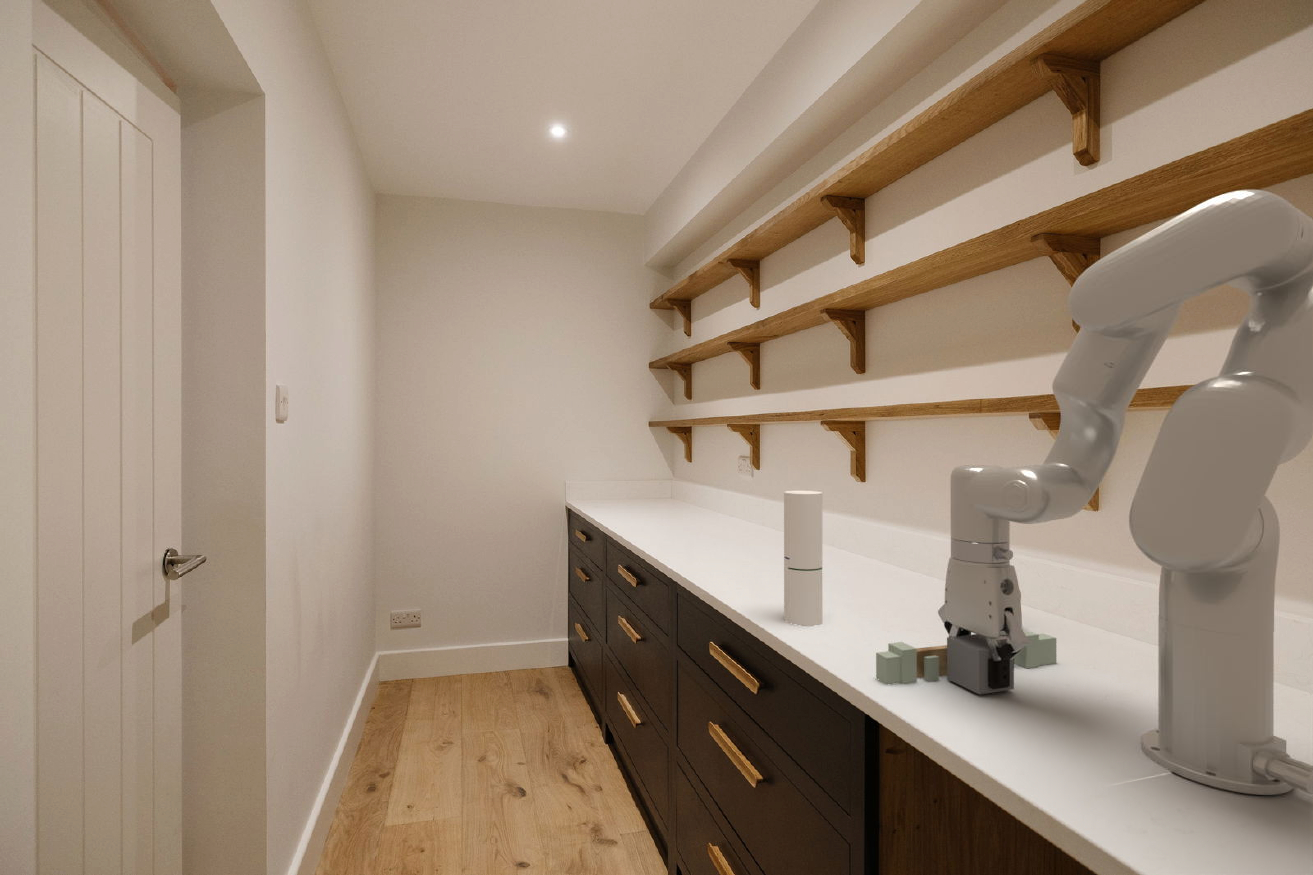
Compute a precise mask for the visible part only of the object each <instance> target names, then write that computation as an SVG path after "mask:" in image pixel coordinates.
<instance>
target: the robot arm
mask: <svg viewBox="0 0 1313 875" xmlns="http://www.w3.org/2000/svg"><path fill="white" fill-rule="evenodd" d="M1224 284H1225V285H1228V286H1231V287H1233V288H1236V289H1239V290H1242V291H1243V292H1244V293H1246V294H1247V295H1248V296H1249V308H1248V311H1247V312H1246V314H1245V316H1244V318H1243V319H1242V321H1241V322H1240V324H1239V326H1238V328H1237V329H1236V331H1235V334H1234V336H1233V339H1232V341H1231V344H1230V348H1229V350H1228V353H1227V355H1226V357H1225V360H1224V362H1223V365H1222V367H1221V369H1220V371H1219V373H1218V376H1214V377H1211V378H1208V379H1204V380H1201V381H1200V382H1198V383H1196V384H1194V385H1193V386H1191V387H1189V388H1188V389H1186V390H1185V391H1184V392H1183V393H1182V394H1181V395H1179V397H1178V398H1177V399H1175V400H1176V401H1174V403H1173V404H1172V406H1171V407H1170V409H1169V411H1168V412H1167V414H1166V416H1165V417H1164V419H1163V422H1162V424H1161V427H1160V429H1159V432H1158V434H1157V437H1156V439H1155V442H1154V445H1152V446H1153V447H1152V449H1151V452H1150V454H1149V457H1148V459H1147V462H1146V464H1145V467H1144V470H1143V472H1142V476H1141V477H1140V481H1139V483H1138V485H1137V488H1136V491H1135V493H1134V495H1133V496H1134V497H1133V499H1132V502H1131V504H1130V505H1131V506H1130V510H1129V516H1128V522H1129V523H1128V524H1129V526H1128V527H1129V531H1130V534H1131V537H1132V539H1133V542H1134V543H1135V544H1136V546H1137V548H1138V549H1139V551H1141V553H1142V554H1143V555H1144V556H1145V557H1146V558H1148V559H1149V560H1150V561H1152V562H1153V563H1155V564H1157V565H1159V566H1161V569H1160V574H1159V575H1160V576H1159V577H1160V578H1159V588H1158V615H1157V616H1158V619H1157V620H1158V622H1157V623H1158V631H1157V632H1158V635H1157V637H1158V640H1157V641H1158V643H1157V644H1158V646H1157V647H1158V648H1157V649H1158V652H1157V654H1158V657H1157V658H1158V659H1157V660H1158V661H1157V662H1158V666H1157V667H1158V668H1157V669H1158V671H1157V672H1158V675H1157V676H1158V678H1157V679H1158V685H1157V687H1158V708H1157V709H1158V710H1157V711H1158V729H1154V730H1153V729H1152V730H1149V731H1147V732H1145V733H1143V734H1142V736H1141V740H1140V741H1141V745H1140V747H1141V750H1142V752H1143V753H1144V754H1145V756H1147V757H1148V758H1149V759H1150V760H1151V761H1152V762H1154V763H1156V764H1157V765H1159V766H1161V767H1162V768H1164V769H1166V770H1168V771H1171V773H1174V774H1176V775H1178V776H1181V777H1183V778H1185V779H1187V780H1191V781H1194V782H1196V783H1199V784H1203V785H1207V786H1210V787H1211V788H1212V787H1213V788H1216V789H1220V790H1224V791H1225V790H1226V791H1230V792H1235V793H1242V794H1247V795H1248V794H1249V795H1258V796H1259V795H1261V796H1274V795H1282V794H1285V793H1288V792H1290V791H1291V790H1293V789H1294V788H1295V789H1298V790H1300V791H1302V792H1305V793H1308V794H1309V795H1313V765H1312V764H1309V763H1307V762H1304V761H1302V760H1297V759H1295V758H1292V757H1291V756H1290V754H1289V753H1287V740H1286V739H1284V738H1282V737H1281V738H1280V737H1278V736H1275V734H1274V732H1275V730H1274V725H1275V724H1274V722H1275V721H1274V720H1275V719H1274V714H1275V713H1274V709H1275V708H1274V706H1275V705H1274V700H1275V698H1274V690H1275V688H1274V687H1275V686H1274V678H1275V677H1274V676H1275V675H1274V674H1275V673H1274V669H1275V668H1274V667H1275V666H1274V657H1275V656H1274V641H1275V640H1274V637H1275V636H1274V632H1275V598H1276V597H1275V594H1276V593H1275V592H1276V590H1275V589H1276V577H1277V568H1278V559H1279V550H1280V540H1281V539H1280V537H1281V533H1280V530H1281V529H1280V522H1279V517H1278V515H1277V514H1278V513H1277V511H1276V509H1275V507H1274V505H1273V504H1272V502H1271V500H1269V498H1268V497H1267V496H1266V494H1267V491H1268V489H1269V487H1270V486H1271V485H1270V484H1271V482H1272V480H1273V478H1274V476H1275V474H1276V471H1277V470H1278V468H1279V466H1280V465H1283V464H1286V463H1287V462H1289V461H1291V460H1293V459H1294V458H1296V457H1298V456H1299V455H1300V454H1302V453H1303V452H1304V450H1305V449H1306V448H1307V446H1308V445H1309V443H1310V442H1311V439H1312V437H1313V218H1311V217H1310V216H1308V215H1307V214H1305V213H1304V212H1303V211H1302V210H1300V209H1299V208H1296V207H1295V206H1294V205H1293V204H1291V203H1290V202H1289V201H1288V200H1287V199H1285V198H1284V197H1282V196H1280V195H1278V194H1275V193H1273V192H1270V191H1266V190H1263V189H1262V190H1260V189H1241V190H1234V191H1229V192H1226V193H1223V194H1220V195H1217V196H1213V197H1211V198H1208V199H1207V200H1205V201H1203V202H1201V203H1198V204H1197V205H1195V206H1193V207H1192V208H1190V209H1188V210H1186V211H1184V212H1182V213H1180V214H1178V215H1176V216H1175V217H1173V218H1171V219H1170V220H1168V221H1166V222H1164V223H1163V224H1161V225H1159V226H1157V227H1155V228H1154V229H1152V230H1150V231H1148V232H1146V233H1144V234H1143V235H1140V236H1139V237H1136V238H1135V239H1133V240H1131V241H1130V242H1128V243H1126V244H1124V245H1123V246H1121V247H1119V248H1117V249H1116V250H1114V251H1112V252H1110V253H1108V254H1107V255H1105V256H1103V257H1102V258H1100V259H1099V260H1097V261H1096V262H1095V263H1093V264H1092V265H1090V266H1089V267H1088V268H1086V269H1085V270H1084V271H1083V272H1082V273H1081V274H1080V275H1079V276H1078V277H1077V279H1076V280H1075V282H1074V283H1073V285H1072V287H1071V289H1070V291H1069V294H1068V297H1067V298H1068V299H1067V300H1068V301H1067V308H1068V312H1069V314H1070V316H1071V318H1072V320H1073V321H1074V322H1075V323H1076V325H1077V326H1079V330H1078V333H1077V335H1076V337H1075V338H1074V340H1073V342H1072V345H1071V346H1070V348H1069V349H1068V352H1067V354H1066V355H1065V358H1064V359H1063V361H1062V363H1061V365H1060V367H1059V369H1058V371H1057V372H1056V375H1054V376H1055V377H1054V379H1053V381H1052V384H1051V385H1052V386H1051V387H1052V392H1053V395H1054V398H1055V400H1056V402H1057V405H1058V407H1059V411H1060V423H1059V430H1058V433H1057V434H1056V437H1055V440H1054V443H1053V444H1052V446H1051V449H1050V451H1049V452H1048V454H1047V456H1046V458H1045V460H1044V462H1043V463H1042V464H1039V465H1038V464H1037V465H1036V464H1035V465H1028V466H1027V465H1026V466H1015V467H1014V466H1013V467H1006V468H1004V467H1002V466H999V465H998V466H997V465H988V464H987V465H986V464H985V465H982V464H981V465H979V464H974V465H971V464H970V465H969V464H968V465H966V464H963V465H959V466H955V467H954V468H953V469H952V471H951V474H950V557H949V559H948V563H947V567H946V568H947V569H946V576H945V585H944V604H943V605H942V606H940V608H939V609H938V610H937V614H938V616H939V617H940V619H941V621H942V623H943V627H944V629H945V630H946V632H947V634H948V637H955V636H964V635H972V633H973V634H978V635H981V636H983V637H986V639H987V642H988V646H989V649H990V653H991V656H992V659H988V686H989V688H991V689H1000V688H1007V687H1009V686H1010V659H1013V658H1014V656H1015V655H1016V654H1017V653H1018V652H1019V651H1020V649H1022V648H1023V647H1025V646H1026V645H1027V644H1028V643H1029V640H1028V638H1027V636H1026V635H1025V633H1024V632H1023V630H1022V629H1023V617H1022V616H1023V615H1022V614H1023V613H1022V601H1021V600H1022V599H1021V600H1020V592H1021V590H1020V587H1019V586H1020V585H1019V581H1018V580H1019V579H1018V575H1017V571H1016V568H1015V566H1014V565H1013V564H1011V560H1012V559H1013V557H1014V552H1013V551H1012V550H1011V549H1010V548H1011V547H1010V546H1011V545H1010V540H1011V539H1010V537H1011V536H1010V532H1011V530H1010V523H1011V522H1012V523H1018V524H1026V525H1032V524H1035V525H1036V524H1041V523H1047V522H1051V521H1057V520H1064V519H1067V518H1071V517H1073V516H1075V515H1077V514H1078V513H1080V512H1081V511H1083V509H1084V508H1085V507H1086V506H1088V503H1089V502H1090V501H1091V499H1092V498H1093V497H1094V495H1095V493H1096V491H1097V490H1098V488H1099V487H1100V485H1101V483H1102V481H1103V479H1104V478H1105V476H1106V474H1107V472H1108V470H1109V469H1110V467H1111V465H1112V463H1113V461H1114V458H1115V456H1116V454H1117V451H1118V448H1119V444H1120V440H1121V436H1122V433H1123V429H1124V425H1125V422H1126V414H1127V410H1128V409H1129V406H1130V404H1131V402H1132V400H1133V399H1134V396H1135V395H1136V394H1137V391H1138V390H1139V388H1140V386H1141V384H1142V383H1143V380H1144V378H1145V377H1146V375H1147V374H1148V372H1149V370H1150V368H1151V366H1152V364H1153V363H1154V361H1155V359H1156V358H1157V356H1158V354H1159V353H1160V351H1161V350H1162V347H1163V346H1164V344H1165V342H1166V340H1167V339H1168V337H1169V335H1170V333H1171V332H1172V330H1173V328H1174V326H1175V324H1176V322H1177V321H1178V319H1179V317H1180V314H1181V312H1182V309H1183V305H1184V302H1187V301H1188V300H1190V299H1192V298H1195V297H1198V296H1200V295H1201V294H1204V293H1206V292H1208V291H1211V290H1213V289H1215V288H1217V287H1219V286H1222V285H1224ZM1019 590H1020V591H1019ZM1008 635H1009V636H1011V640H1010V639H1009V636H1008ZM998 640H1000V642H1001V645H1002V647H1001V648H1000V649H999V647H998V643H997V641H998Z"/></svg>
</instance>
